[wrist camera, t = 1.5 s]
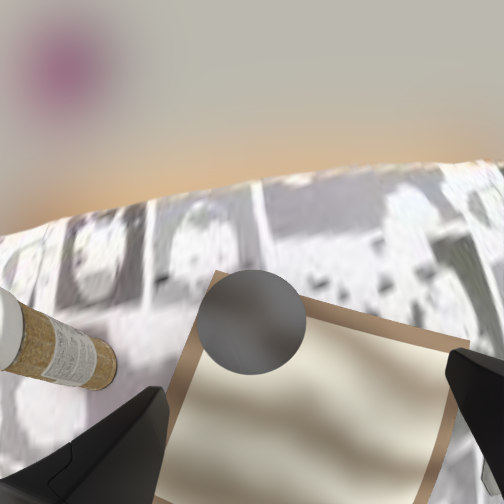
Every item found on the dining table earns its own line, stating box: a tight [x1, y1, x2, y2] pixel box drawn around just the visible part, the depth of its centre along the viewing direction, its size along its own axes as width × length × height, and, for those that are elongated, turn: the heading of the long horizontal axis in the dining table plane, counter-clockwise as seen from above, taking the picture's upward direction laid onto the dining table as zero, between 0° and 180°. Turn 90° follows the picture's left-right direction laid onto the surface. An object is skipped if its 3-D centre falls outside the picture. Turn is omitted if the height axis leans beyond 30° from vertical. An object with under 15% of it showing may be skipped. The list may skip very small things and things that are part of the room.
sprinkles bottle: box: [0, 287, 117, 390], centre depth 16 cm, size 5×5×14 cm
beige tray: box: [152, 270, 470, 504], centre depth 19 cm, size 21×22×1 cm
